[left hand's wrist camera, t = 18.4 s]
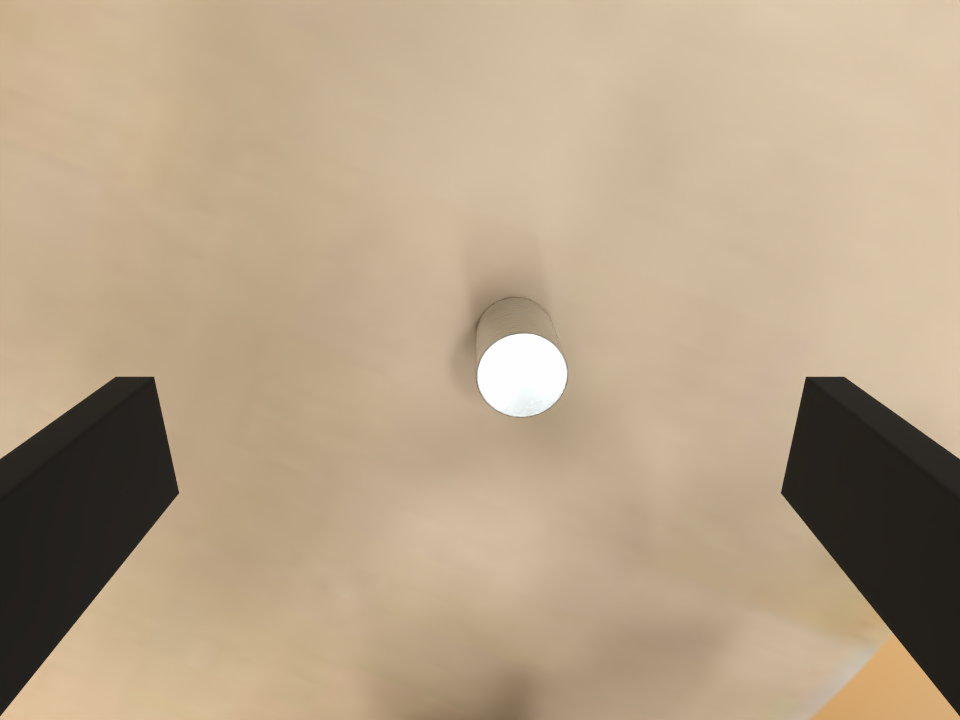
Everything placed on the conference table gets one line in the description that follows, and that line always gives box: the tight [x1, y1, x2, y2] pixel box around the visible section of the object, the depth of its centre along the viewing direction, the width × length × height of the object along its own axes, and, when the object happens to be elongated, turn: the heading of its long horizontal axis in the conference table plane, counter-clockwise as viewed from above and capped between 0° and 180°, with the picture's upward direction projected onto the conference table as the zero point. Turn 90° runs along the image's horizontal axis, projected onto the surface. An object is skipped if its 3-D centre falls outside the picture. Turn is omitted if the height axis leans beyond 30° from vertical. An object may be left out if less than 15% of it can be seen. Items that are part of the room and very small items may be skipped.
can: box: [476, 298, 568, 417], centre depth 25 cm, size 4×4×5 cm
